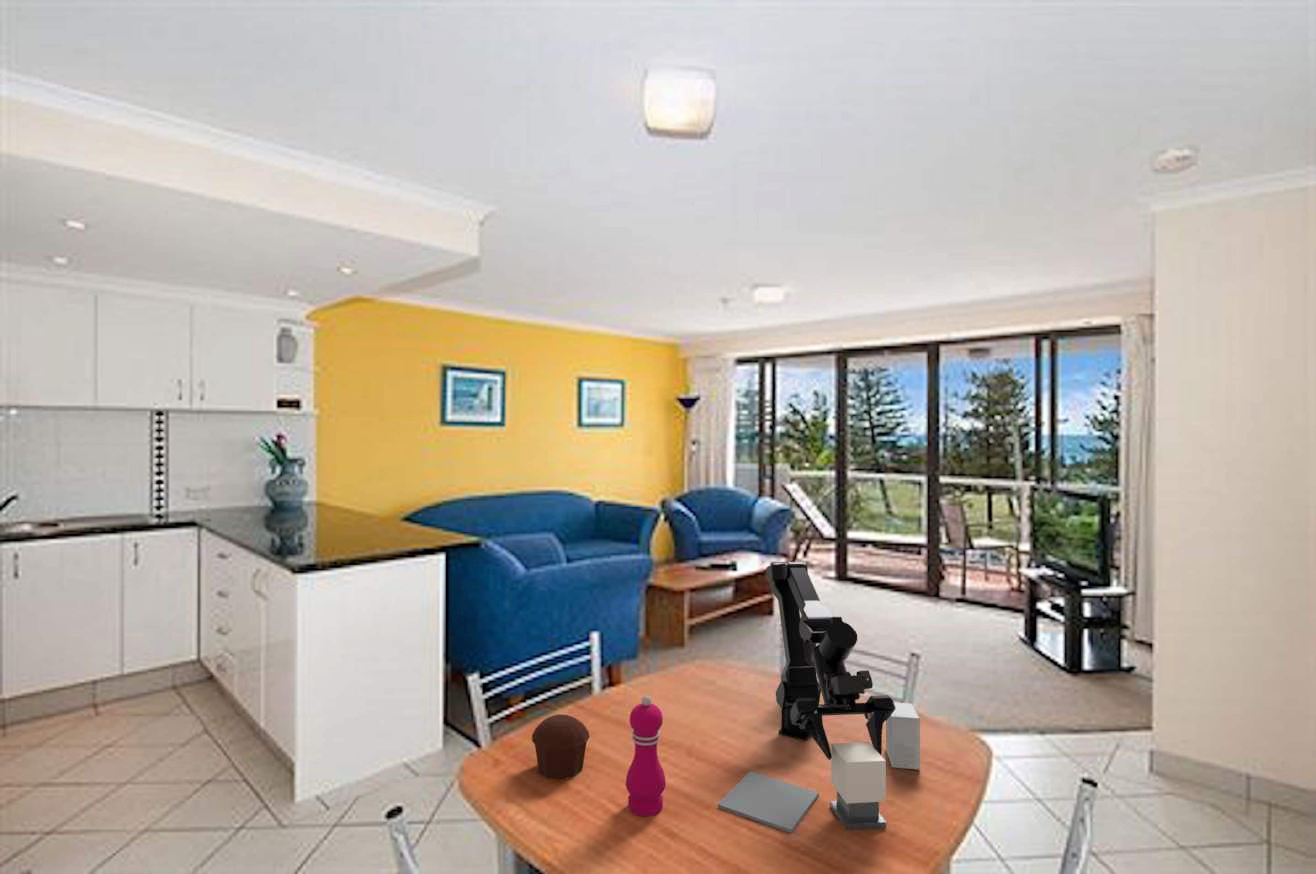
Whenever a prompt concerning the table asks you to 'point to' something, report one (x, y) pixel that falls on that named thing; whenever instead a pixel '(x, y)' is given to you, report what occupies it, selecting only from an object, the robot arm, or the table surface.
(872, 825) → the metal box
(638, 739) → the pepper mill
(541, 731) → the muffin
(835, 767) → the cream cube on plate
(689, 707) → the table surface
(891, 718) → the small box
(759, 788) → the mat
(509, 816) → the table surface
